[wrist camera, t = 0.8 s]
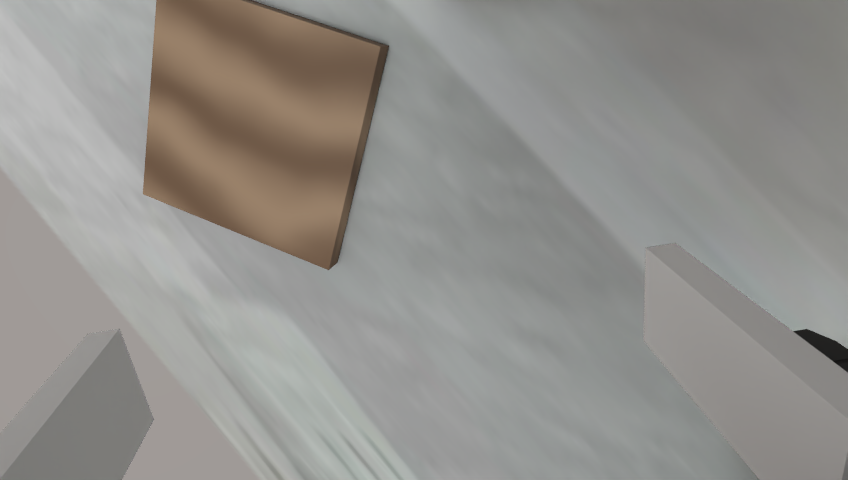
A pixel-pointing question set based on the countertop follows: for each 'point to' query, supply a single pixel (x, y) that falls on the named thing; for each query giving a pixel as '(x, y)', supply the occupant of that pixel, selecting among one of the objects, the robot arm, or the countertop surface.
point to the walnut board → (260, 121)
